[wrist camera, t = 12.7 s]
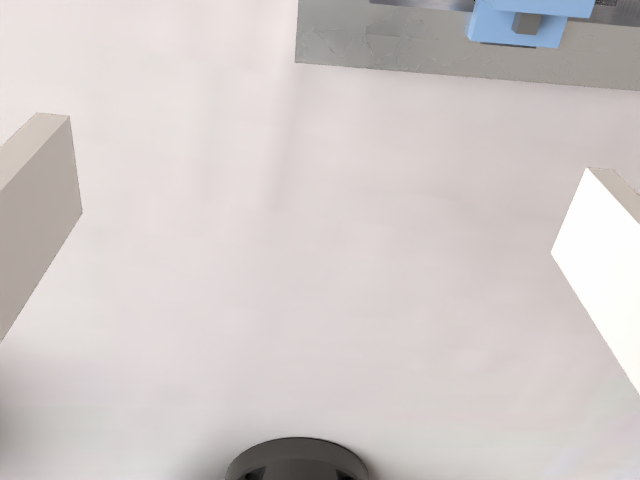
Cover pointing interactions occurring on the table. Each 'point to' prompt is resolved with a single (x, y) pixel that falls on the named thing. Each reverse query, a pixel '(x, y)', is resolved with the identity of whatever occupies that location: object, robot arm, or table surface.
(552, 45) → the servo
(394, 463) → the table surface
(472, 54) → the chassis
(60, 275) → the table surface
